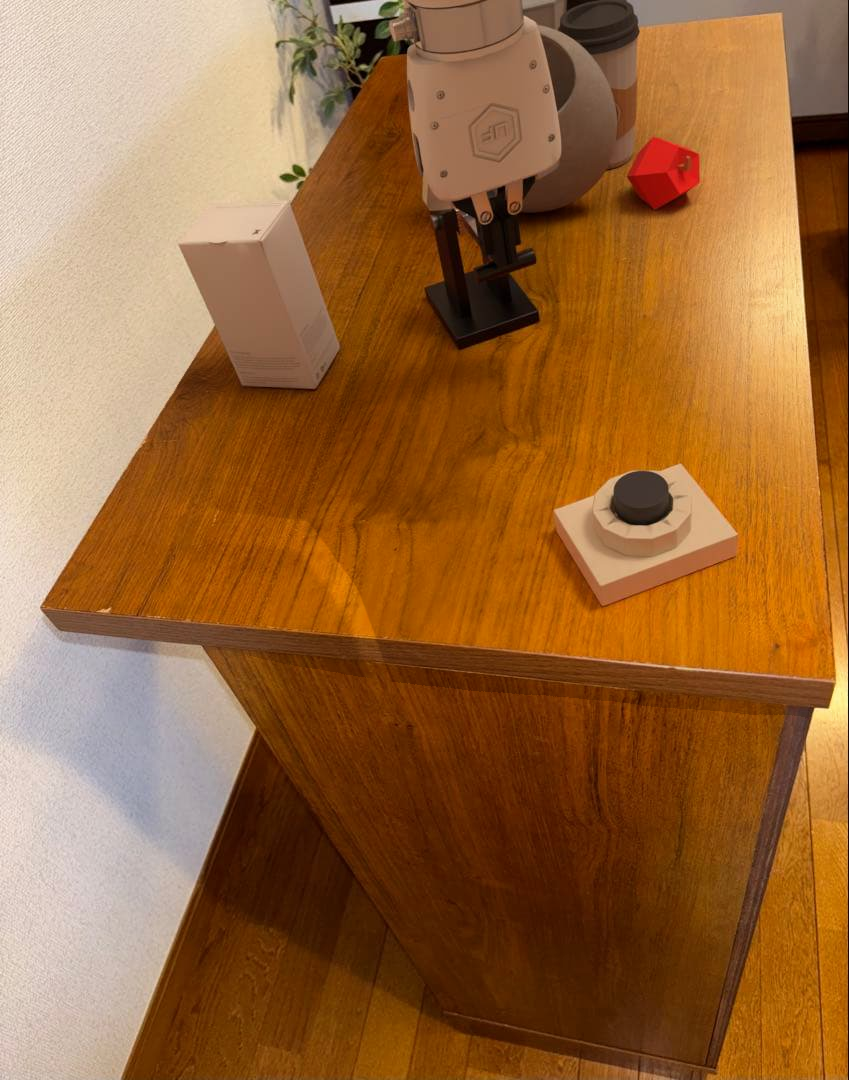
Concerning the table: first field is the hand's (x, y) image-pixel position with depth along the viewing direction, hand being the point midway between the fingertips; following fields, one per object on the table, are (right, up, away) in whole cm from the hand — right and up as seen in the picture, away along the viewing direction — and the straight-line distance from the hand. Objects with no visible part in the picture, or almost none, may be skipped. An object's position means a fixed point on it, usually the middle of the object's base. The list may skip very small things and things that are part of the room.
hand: (501, 256), depth 79 cm
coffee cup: (+14, +20, +30) cm, 39 cm away
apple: (+18, +12, +22) cm, 31 cm away
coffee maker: (+9, +27, +39) cm, 48 cm away
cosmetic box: (-19, -7, +14) cm, 24 cm away
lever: (-1, +2, +5) cm, 5 cm away
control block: (+9, -23, -9) cm, 26 cm away
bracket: (-1, -1, +14) cm, 14 cm away
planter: (+5, +12, +25) cm, 28 cm away
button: (+9, -20, -12) cm, 25 cm away
